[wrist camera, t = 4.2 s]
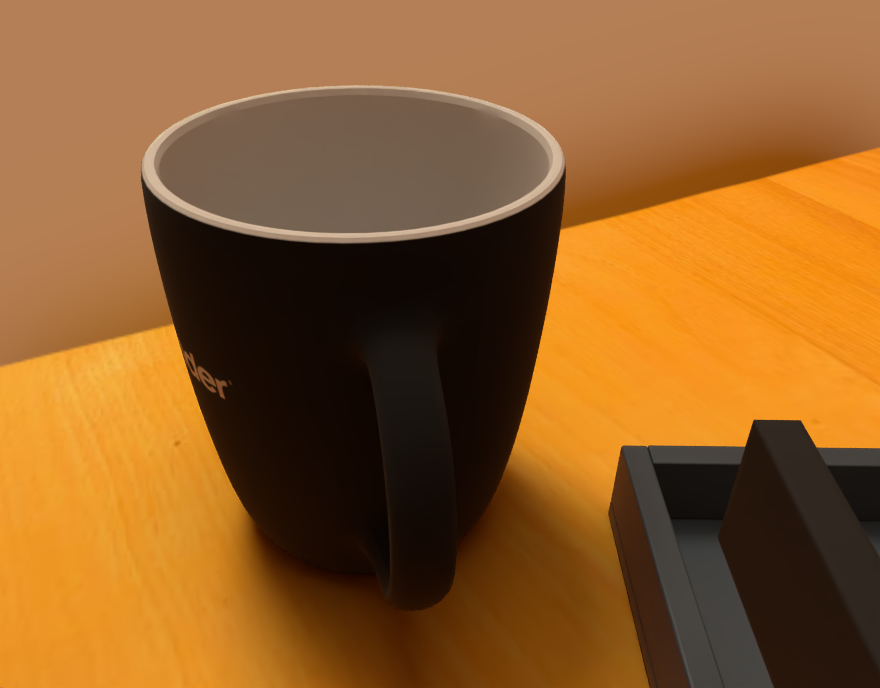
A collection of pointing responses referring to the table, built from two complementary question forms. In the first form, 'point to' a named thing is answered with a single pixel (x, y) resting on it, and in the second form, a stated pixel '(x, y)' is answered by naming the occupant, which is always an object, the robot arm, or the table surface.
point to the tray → (702, 557)
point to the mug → (360, 311)
